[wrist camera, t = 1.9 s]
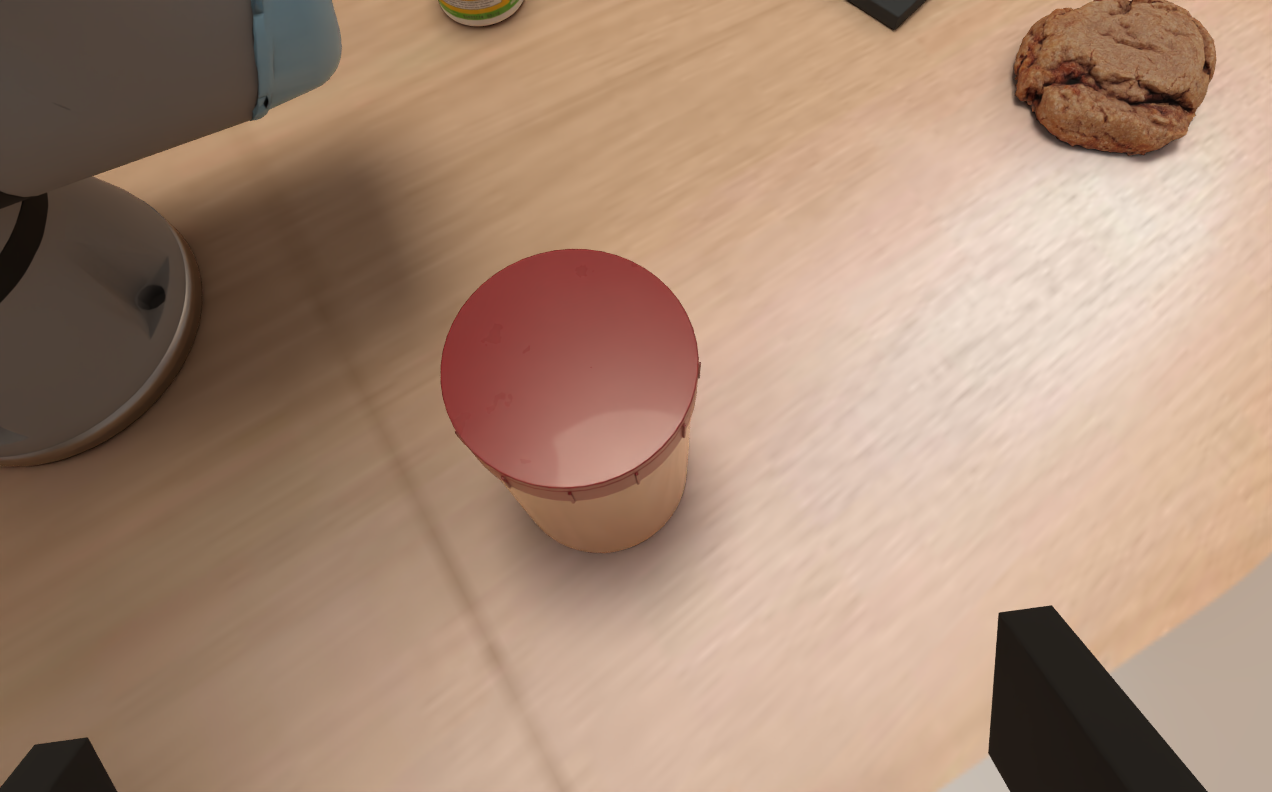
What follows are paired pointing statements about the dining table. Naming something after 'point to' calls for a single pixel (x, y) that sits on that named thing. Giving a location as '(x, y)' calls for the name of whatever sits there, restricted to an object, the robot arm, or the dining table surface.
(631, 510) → the jar
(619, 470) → the lid
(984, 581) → the dining table surface
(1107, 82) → the cookie
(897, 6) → the mat
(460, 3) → the supplement bottle
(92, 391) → the robot arm
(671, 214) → the dining table surface
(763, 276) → the dining table surface
